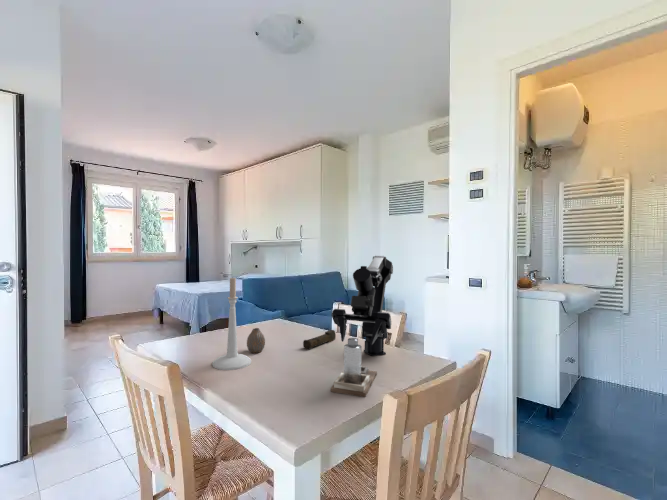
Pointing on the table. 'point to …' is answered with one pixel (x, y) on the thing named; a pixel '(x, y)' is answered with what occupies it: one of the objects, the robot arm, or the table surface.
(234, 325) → the candlestick
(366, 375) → the socket board
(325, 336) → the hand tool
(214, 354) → the table surface
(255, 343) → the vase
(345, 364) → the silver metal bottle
